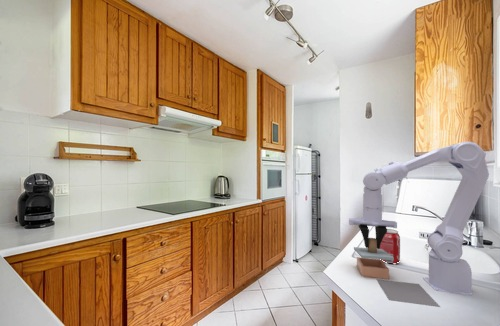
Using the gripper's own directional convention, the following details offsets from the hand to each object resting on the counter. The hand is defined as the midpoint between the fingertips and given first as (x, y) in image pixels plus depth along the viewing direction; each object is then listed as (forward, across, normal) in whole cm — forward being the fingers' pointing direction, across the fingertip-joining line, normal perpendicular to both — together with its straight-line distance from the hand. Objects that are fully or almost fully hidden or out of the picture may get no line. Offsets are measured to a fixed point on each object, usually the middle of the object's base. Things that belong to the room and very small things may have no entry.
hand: (372, 247), depth 80 cm
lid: (+2, 0, -1) cm, 2 cm away
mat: (+9, +6, -11) cm, 15 cm away
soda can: (+9, +9, +12) cm, 17 cm away
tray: (+9, 0, 0) cm, 9 cm away
